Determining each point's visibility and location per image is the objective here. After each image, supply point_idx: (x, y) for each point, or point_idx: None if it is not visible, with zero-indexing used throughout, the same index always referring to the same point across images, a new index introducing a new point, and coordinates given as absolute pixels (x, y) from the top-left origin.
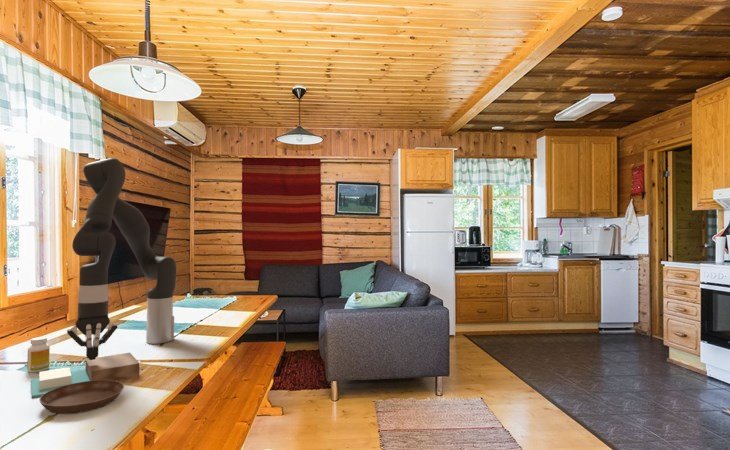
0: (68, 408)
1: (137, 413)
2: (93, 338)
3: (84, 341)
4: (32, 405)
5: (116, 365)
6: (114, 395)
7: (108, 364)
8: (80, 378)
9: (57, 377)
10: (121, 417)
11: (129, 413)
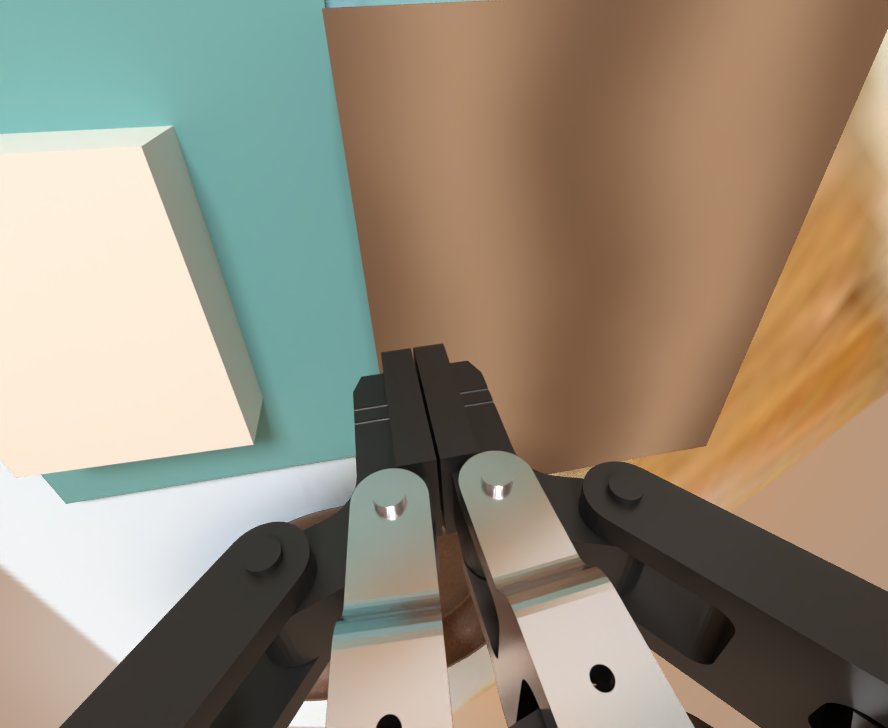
0: (322, 683)
1: None
2: (490, 582)
3: (329, 619)
4: (134, 563)
5: (572, 440)
6: (469, 651)
7: (532, 393)
8: (309, 294)
9: (147, 451)
10: (464, 667)
11: (487, 656)
